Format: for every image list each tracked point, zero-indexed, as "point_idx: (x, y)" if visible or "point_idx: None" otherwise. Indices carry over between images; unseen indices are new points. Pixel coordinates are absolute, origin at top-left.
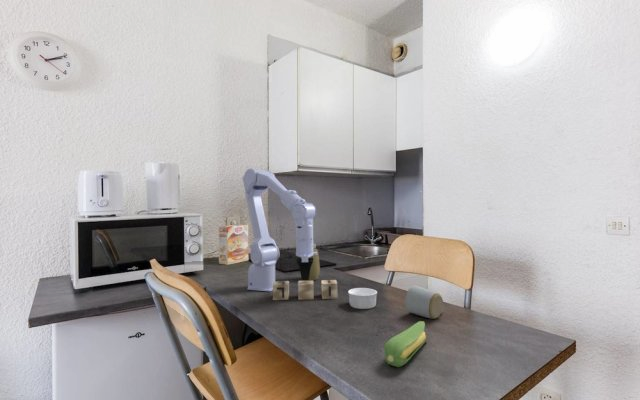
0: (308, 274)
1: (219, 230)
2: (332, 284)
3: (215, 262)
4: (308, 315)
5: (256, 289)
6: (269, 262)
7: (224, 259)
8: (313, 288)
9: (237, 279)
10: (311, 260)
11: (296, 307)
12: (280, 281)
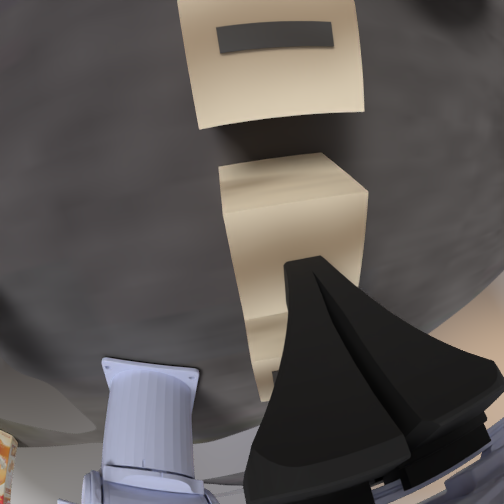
0: (353, 291)
1: (9, 500)
2: (352, 11)
3: None
4: (499, 171)
5: (193, 401)
6: (162, 486)
7: (13, 447)
8: (350, 178)
9: (92, 432)
10: (487, 402)
11: (429, 223)
12: (266, 385)
